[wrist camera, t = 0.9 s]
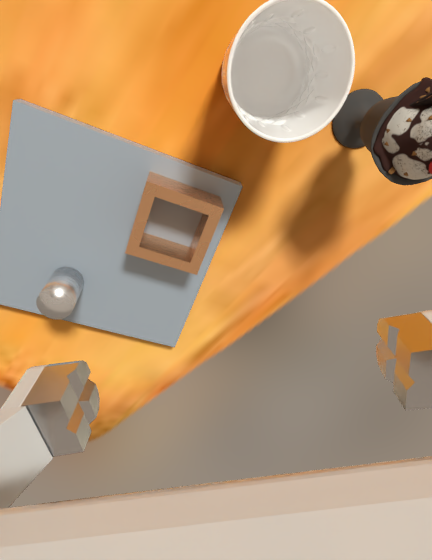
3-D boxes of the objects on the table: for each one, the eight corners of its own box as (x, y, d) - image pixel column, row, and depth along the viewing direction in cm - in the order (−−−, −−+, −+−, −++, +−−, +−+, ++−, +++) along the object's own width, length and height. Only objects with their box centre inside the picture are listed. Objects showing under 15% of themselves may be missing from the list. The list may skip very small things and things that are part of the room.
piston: (49, 289, 38) (33, 314, 34) (54, 262, 36) (39, 285, 32) (80, 297, 38) (69, 322, 34) (87, 271, 37) (76, 295, 33)
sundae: (358, 171, 36) (459, 228, 23) (308, 128, 33) (389, 164, 20) (410, 110, 33) (556, 135, 20) (360, 60, 31) (489, 51, 18)
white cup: (214, 15, 29) (228, -10, 20) (312, 18, 29) (368, -5, 21) (213, 124, 33) (225, 142, 24) (300, 124, 33) (342, 142, 25)
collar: (129, 237, 36) (124, 253, 33) (149, 171, 33) (146, 181, 30) (195, 258, 37) (196, 274, 34) (220, 196, 34) (224, 208, 31)
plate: (-5, 293, 39) (-12, 301, 38) (20, 98, 30) (13, 100, 29) (174, 339, 44) (174, 347, 43) (240, 182, 35) (242, 186, 34)
